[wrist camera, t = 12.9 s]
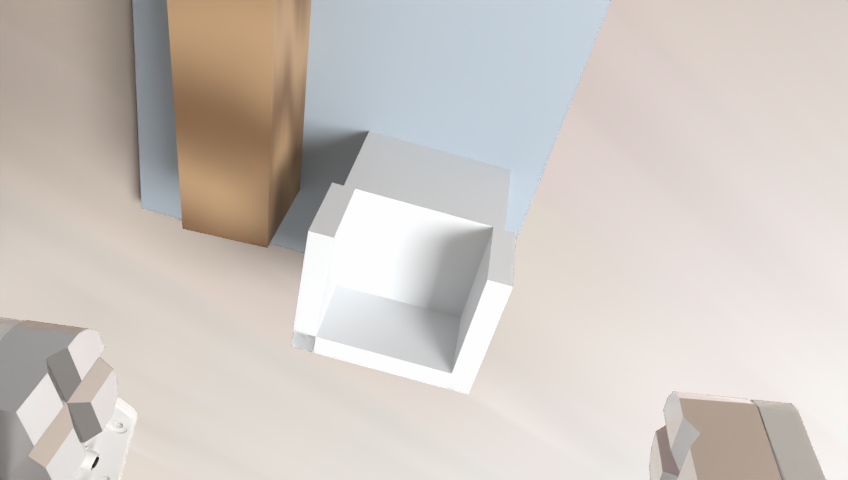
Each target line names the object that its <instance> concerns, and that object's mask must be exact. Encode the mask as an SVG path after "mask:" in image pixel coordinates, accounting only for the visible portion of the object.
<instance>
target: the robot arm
mask: <svg viewBox="0 0 848 480" xmlns="http://www.w3.org/2000/svg"><path fill="white" fill-rule="evenodd" d="M104 349H105V346H104V343H103V341H102V339H101V337H100V334H99V332H98V331H95V330H92V329H88V328H80V327H73V326H66V325H58V324H51V323H44V322H36V321H29V320H18V319H10V318H3V317H0V480H121V477H122V474H123V470H124V467H125V463H126V459H127V456H128V452H129V448H130V445H131V441H132V437H133V434H134V430H135V426H136V423H137V419H138V416H137V413H136V411H135V410H134V409H133V408H132V407H131V406H130V405H128V404H127V403H126V402H124V401H123V400H122V399H120V398H119V397H118V382H117V378H116V375H115V372H114V369H113V368H112V367H110V366H109V365H108V364H107V363H106V362H105V361H104V360H102V359H101V358H100V355H101V354H102V352H103V350H104ZM663 411H664V417H665V422H666V426H664V427H662V428H661V429H659V430H657V431H656V433H655V436H654V440H653V443H652V447H651V455H650V465H649V471H650V480H827V479H826V477H825V474H824V472H823V469H822V467H821V464H820V462H819V460H818V457H817V455H816V452H815V450H814V447H813V445H812V442H811V440H810V437H809V435H808V433H807V430H806V428H805V425H804V423H803V420H802V418H801V415H800V413H799V411H798V409H797V408H796V407H795V406H794V405H793V404H790V403H780V402H771V401H761V400H748V399H744V398H734V397H724V396H714V395H703V394H693V393H683V392H672V393H671V394H670V395H669V397H668V398H667V401H666V404H665V406H664V409H663ZM116 421H118V422H120V423H122V424H119V423H117V422H116Z"/></svg>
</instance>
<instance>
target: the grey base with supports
mask: <svg viewBox="0 0 848 480" xmlns="http://www.w3.org/2000/svg"><path fill="white" fill-rule="evenodd" d="M132 2H133V25H134V48H135V70H136V93H137V116H138V138H139V161H140V184H141V206H142V209H146V210H150V211H153V212H157V213H161V214H164V215H168V216H172V217H175V218H179V219H182V212H181V197H180V183H179V169H178V154H177V140H176V125H175V111H174V97H173V82H172V68H171V53H170V39H169V24H168V10H167V0H132ZM610 2H611V0H311V14H310V31H309V47H308V63H307V80H306V96H305V112H304V128H303V145H302V161H301V177H300V190H299V192H298V194H297V196H296V197H295V199H294V201H293V203H292V205H291V206H290V208H289V210H288V212H287V214H286V215H285V217H284V219H283V221H282V222H281V224H280V226H279V228H278V230H277V231H276V233H275V235H274V237H273V239H272V240H271V242H270V244H274V245H278V246H281V247H285V248H289V249H292V250H296V251H300V252H303V253H305V256H304V263H303V270H302V276H301V283H300V290H299V296H298V303H297V310H296V317H295V323H294V330H293V337H292V343H291V347H295V348H299V349H303V350H306V351H310V352H314V353H317V354H321V355H325V356H328V357H332V358H336V359H339V360H343V361H347V362H350V363H354V364H358V365H362V366H365V367H369V368H373V369H376V370H380V371H384V372H387V373H391V374H395V375H398V376H402V377H406V378H409V379H413V380H417V381H421V382H424V383H428V384H432V385H435V386H439V387H443V388H446V389H450V390H454V391H457V392H461V393H465V394H469V392H470V389H471V387H472V384H473V382H474V379H475V377H476V375H477V372H478V370H479V367H480V365H481V363H482V360H483V358H484V355H485V353H486V351H487V348H488V346H489V343H490V341H491V338H492V336H493V334H494V331H495V329H496V326H497V324H498V322H499V319H500V317H501V314H502V312H503V309H504V307H505V305H506V302H507V300H508V297H509V295H510V293H511V290H512V288H513V278H514V263H515V248H516V240H517V237H518V235H519V232H520V229H521V227H522V224H523V222H524V219H525V217H526V214H527V212H528V209H529V207H530V204H531V202H532V199H533V197H534V194H535V192H536V189H537V186H538V184H539V181H540V179H541V176H542V174H543V171H544V169H545V166H546V164H547V161H548V159H549V156H550V154H551V151H552V149H553V146H554V143H555V141H556V138H557V136H558V133H559V131H560V128H561V126H562V123H563V121H564V118H565V116H566V113H567V111H568V108H569V106H570V103H571V100H572V98H573V95H574V93H575V90H576V88H577V85H578V83H579V80H580V78H581V75H582V73H583V70H584V68H585V65H586V63H587V60H588V57H589V55H590V52H591V50H592V47H593V45H594V42H595V40H596V37H597V35H598V32H599V30H600V27H601V25H602V22H603V20H604V17H605V14H606V12H607V9H608V7H609V4H610Z"/></svg>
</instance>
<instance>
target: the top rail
mask: <svg viewBox="0 0 848 480" xmlns="http://www.w3.org/2000/svg"><path fill="white" fill-rule="evenodd" d="M167 10H168V24H169V39H170V53H171V68H172V82H173V97H174V111H175V125H176V140H177V154H178V169H179V183H180V197H181V212H182V226H183V229H187V230H191V231H196V232H200V233H205V234H209V235H213V236H218V237H222V238H227V239H231V240H236V241H240V242H244V243H249V244H253V245H258V246H262V247H266V248H267V247H268V246H269V244H270V242H271V240H272V239H273V237H274V235H275V233H276V231H277V230H278V228H279V226H280V224H281V222H282V221H283V219H284V217H285V215H286V214H287V212H288V210H289V208H290V206H291V205H292V203H293V201H294V199H295V197H296V196H297V194H298V192H299V190H300V177H301V161H302V145H303V128H304V112H305V96H306V80H307V63H308V47H309V31H310V14H311V0H167Z"/></svg>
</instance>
